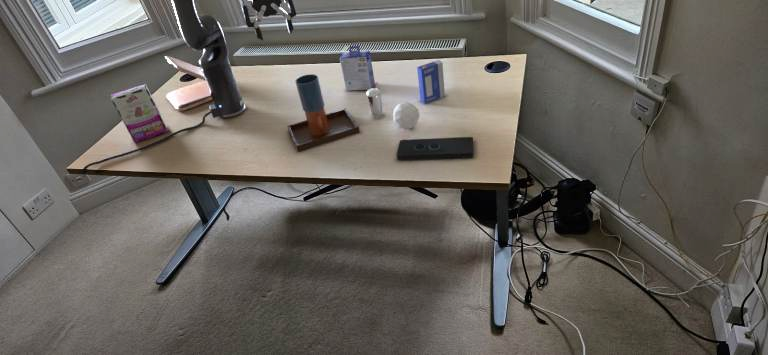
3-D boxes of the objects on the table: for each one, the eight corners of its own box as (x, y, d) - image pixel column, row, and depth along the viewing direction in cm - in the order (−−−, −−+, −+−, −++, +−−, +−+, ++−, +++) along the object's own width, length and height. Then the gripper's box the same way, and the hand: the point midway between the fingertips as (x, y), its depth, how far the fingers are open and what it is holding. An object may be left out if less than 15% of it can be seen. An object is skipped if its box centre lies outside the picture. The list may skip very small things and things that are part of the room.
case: (233, 93, 179) (218, 53, 170) (178, 113, 171) (160, 72, 162) (216, 79, 194) (202, 41, 185) (165, 97, 185) (148, 59, 176)
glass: (305, 114, 136) (298, 86, 131) (300, 106, 141) (293, 78, 136) (327, 108, 137) (320, 79, 132) (321, 100, 142) (314, 72, 137)
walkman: (425, 104, 149) (421, 68, 142) (420, 101, 151) (416, 66, 144) (445, 96, 151) (443, 61, 145) (441, 93, 154) (438, 58, 147)
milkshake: (388, 111, 148) (383, 82, 143) (381, 120, 145) (376, 90, 139) (375, 110, 150) (370, 82, 145) (368, 118, 146) (362, 89, 141)
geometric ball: (402, 133, 141) (389, 110, 141) (425, 121, 140) (413, 97, 140) (398, 134, 134) (385, 109, 134) (423, 121, 132) (410, 96, 132)
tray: (298, 152, 136) (296, 146, 135) (289, 131, 147) (287, 125, 146) (360, 132, 140) (358, 126, 139) (346, 114, 151) (345, 108, 150)
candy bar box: (166, 126, 163) (146, 83, 154) (168, 132, 159) (147, 87, 150) (133, 137, 160) (110, 94, 150) (134, 143, 156) (110, 99, 147)
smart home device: (400, 139, 130) (473, 135, 126) (400, 144, 131) (473, 141, 127) (396, 155, 124) (473, 152, 120) (397, 161, 125) (473, 158, 121)
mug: (308, 129, 145) (302, 106, 141) (326, 123, 147) (320, 100, 142) (314, 141, 139) (308, 117, 134) (333, 135, 140) (327, 111, 135)
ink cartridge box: (375, 83, 168) (369, 43, 160) (372, 89, 164) (365, 50, 155) (349, 84, 170) (341, 45, 162) (345, 91, 166) (337, 51, 158)
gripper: (282, -31, 131) (297, 27, 141) (232, -19, 128) (250, 38, 138) (287, -27, 125) (302, 33, 135) (234, -15, 122) (253, 46, 132)
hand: (276, 36), depth 136 cm, fingers open, 8 cm apart
